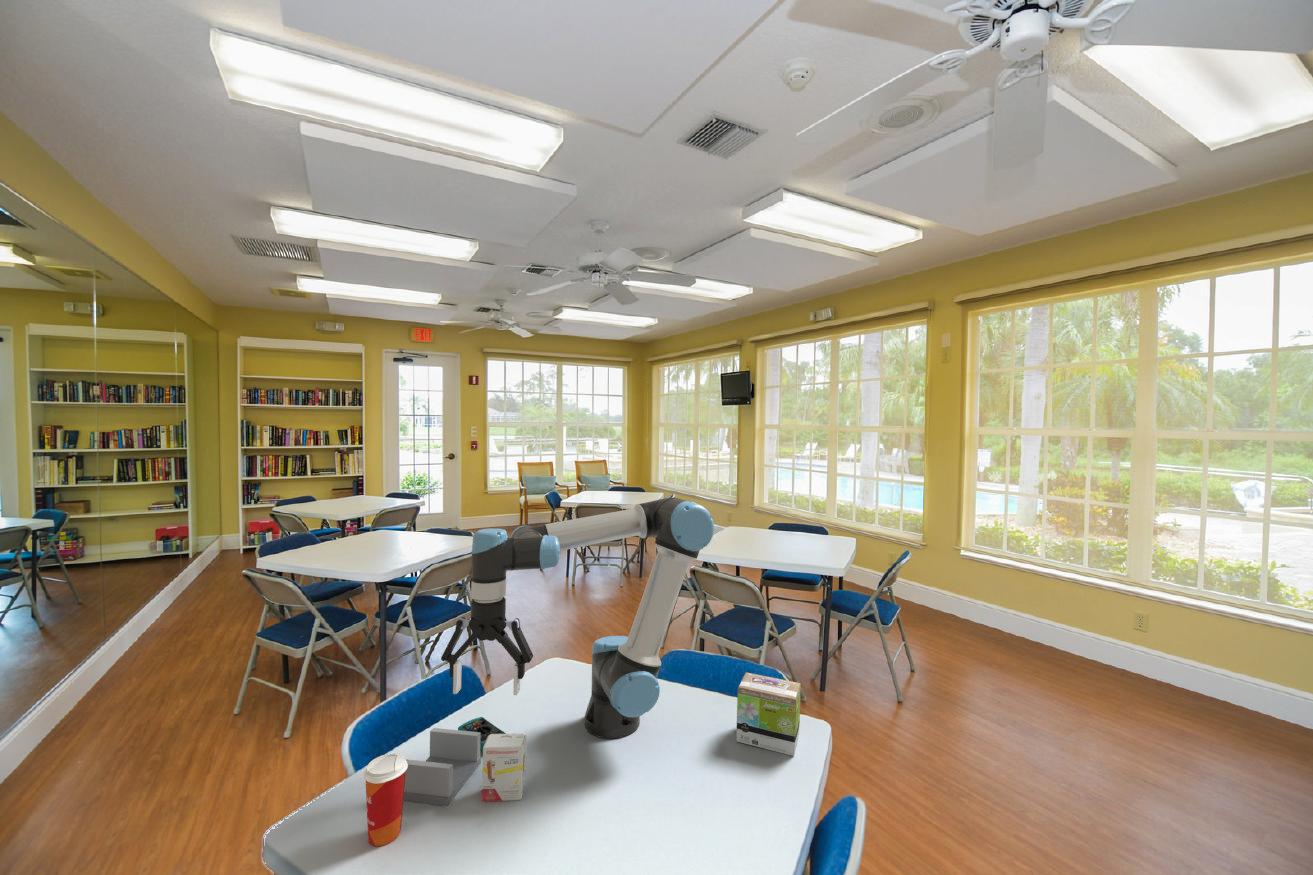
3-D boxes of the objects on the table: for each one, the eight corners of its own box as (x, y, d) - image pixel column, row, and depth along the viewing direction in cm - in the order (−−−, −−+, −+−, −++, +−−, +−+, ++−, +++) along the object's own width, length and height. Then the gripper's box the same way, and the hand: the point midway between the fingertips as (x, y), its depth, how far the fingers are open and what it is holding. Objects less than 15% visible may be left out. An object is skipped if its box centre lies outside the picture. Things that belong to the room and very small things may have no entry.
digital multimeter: (481, 724, 143) (481, 713, 143) (512, 746, 133) (512, 734, 133) (456, 735, 137) (456, 724, 137) (485, 759, 127) (485, 746, 127)
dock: (480, 762, 125) (481, 731, 125) (447, 806, 110) (448, 770, 110) (434, 757, 127) (434, 726, 127) (394, 799, 112) (395, 764, 112)
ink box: (480, 802, 111) (481, 746, 111) (486, 787, 116) (487, 734, 116) (521, 801, 112) (522, 745, 112) (525, 786, 117) (526, 732, 117)
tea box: (735, 743, 135) (736, 686, 135) (744, 724, 144) (744, 670, 144) (795, 758, 129) (796, 698, 129) (800, 737, 138) (801, 681, 139)
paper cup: (373, 822, 105) (374, 752, 105) (412, 820, 106) (414, 750, 106) (353, 852, 97) (355, 777, 97) (396, 850, 98) (398, 775, 98)
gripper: (546, 594, 122) (545, 685, 122) (441, 592, 123) (439, 682, 122) (539, 604, 115) (537, 701, 115) (426, 602, 115) (424, 698, 115)
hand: (486, 692), depth 119 cm, fingers open, 13 cm apart
